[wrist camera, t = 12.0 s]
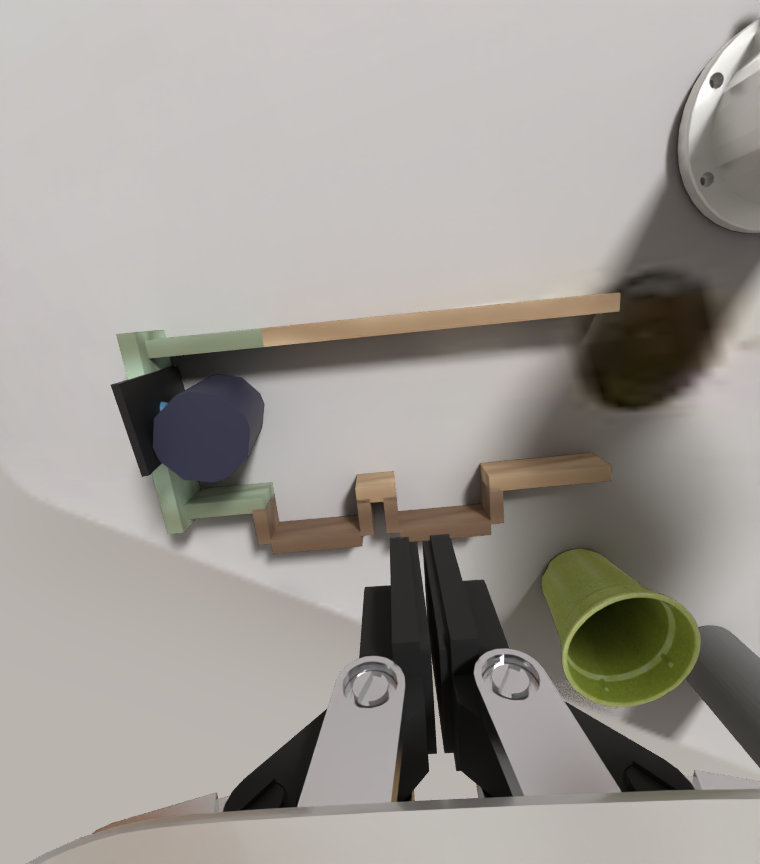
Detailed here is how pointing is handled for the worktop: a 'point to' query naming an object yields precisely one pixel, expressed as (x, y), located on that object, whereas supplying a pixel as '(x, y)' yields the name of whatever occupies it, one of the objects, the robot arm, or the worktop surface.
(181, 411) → the black blue bulged block
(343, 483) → the worktop surface
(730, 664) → the bottle
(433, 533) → the trap channel
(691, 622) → the plant pot
